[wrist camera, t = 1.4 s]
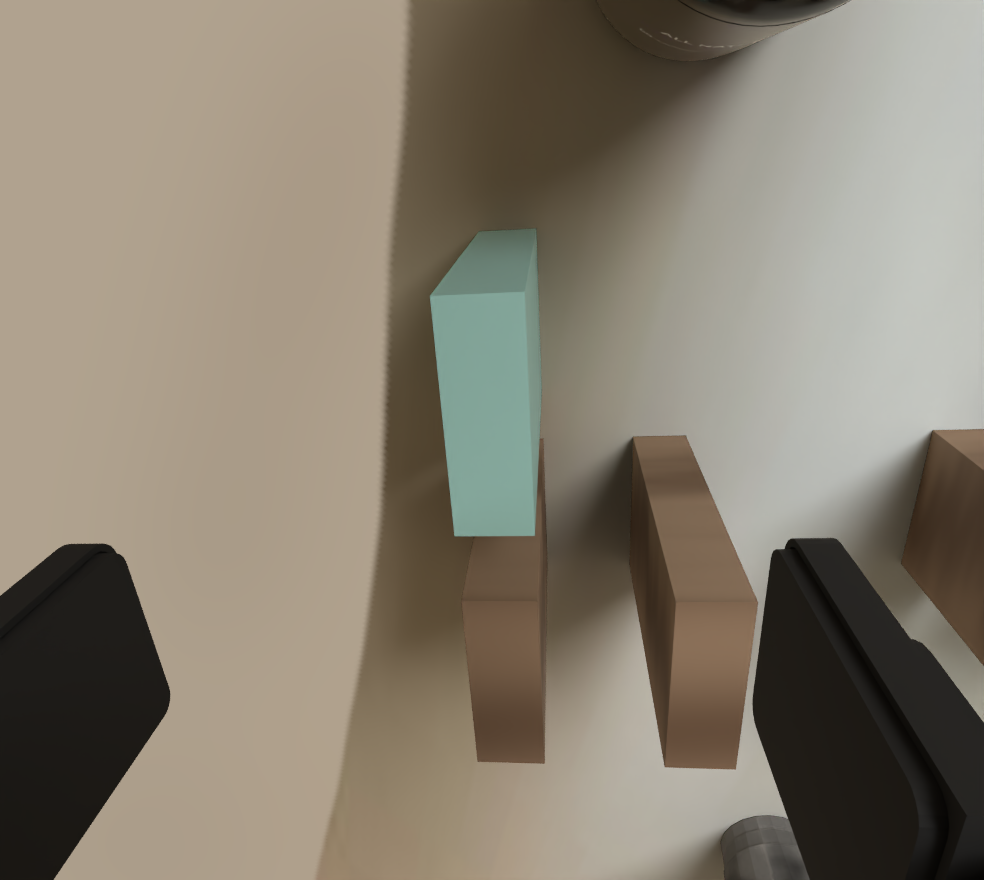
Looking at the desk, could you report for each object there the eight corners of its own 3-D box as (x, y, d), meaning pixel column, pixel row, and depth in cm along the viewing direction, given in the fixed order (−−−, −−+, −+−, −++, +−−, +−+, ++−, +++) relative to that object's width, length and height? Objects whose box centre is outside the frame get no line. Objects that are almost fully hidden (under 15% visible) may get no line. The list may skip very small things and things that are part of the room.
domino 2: (633, 436, 26) (675, 602, 17) (685, 435, 25) (757, 602, 16) (629, 563, 28) (664, 767, 19) (677, 563, 28) (735, 769, 19)
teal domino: (478, 231, 23) (429, 295, 14) (536, 228, 23) (524, 291, 14) (489, 392, 25) (454, 536, 16) (541, 391, 25) (534, 535, 16)
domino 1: (493, 439, 26) (461, 601, 17) (543, 438, 26) (537, 601, 17) (501, 563, 29) (477, 761, 20) (547, 563, 29) (544, 763, 20)
